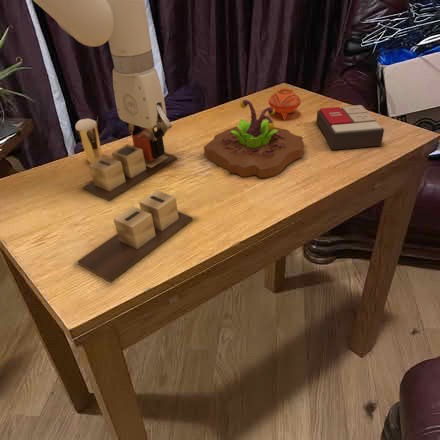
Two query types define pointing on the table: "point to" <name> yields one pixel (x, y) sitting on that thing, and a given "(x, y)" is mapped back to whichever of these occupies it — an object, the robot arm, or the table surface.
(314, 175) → the table surface
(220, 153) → the plant
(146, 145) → the letter block
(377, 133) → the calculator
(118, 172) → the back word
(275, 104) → the pot
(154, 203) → the front word
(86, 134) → the beer glass
